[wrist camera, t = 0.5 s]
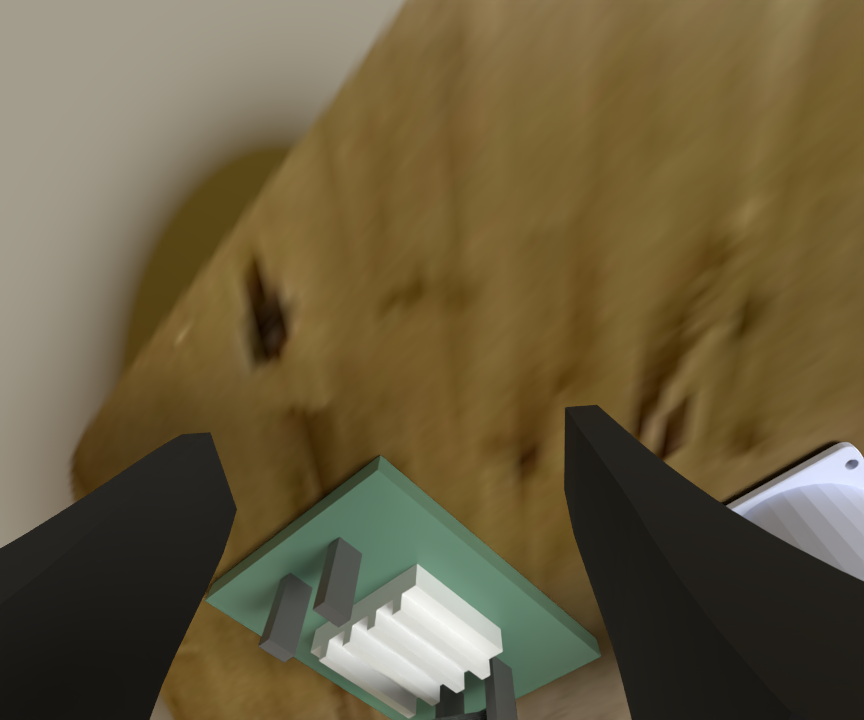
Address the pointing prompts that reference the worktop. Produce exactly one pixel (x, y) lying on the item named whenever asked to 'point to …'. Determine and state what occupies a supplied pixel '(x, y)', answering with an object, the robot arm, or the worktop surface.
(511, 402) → the worktop surface
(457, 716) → the bar
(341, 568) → the heatsink base
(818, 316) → the worktop surface
